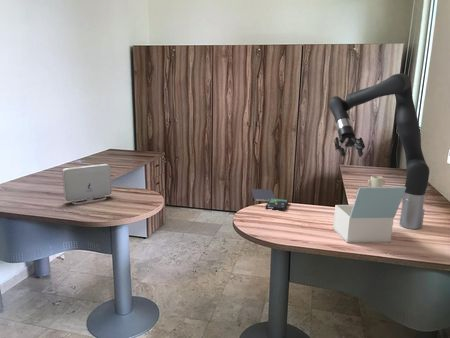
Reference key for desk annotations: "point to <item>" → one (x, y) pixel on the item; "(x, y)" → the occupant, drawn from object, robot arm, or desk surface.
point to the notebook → (262, 194)
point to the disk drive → (277, 204)
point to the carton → (361, 227)
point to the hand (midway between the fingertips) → (352, 156)
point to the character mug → (376, 181)
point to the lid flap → (377, 202)
